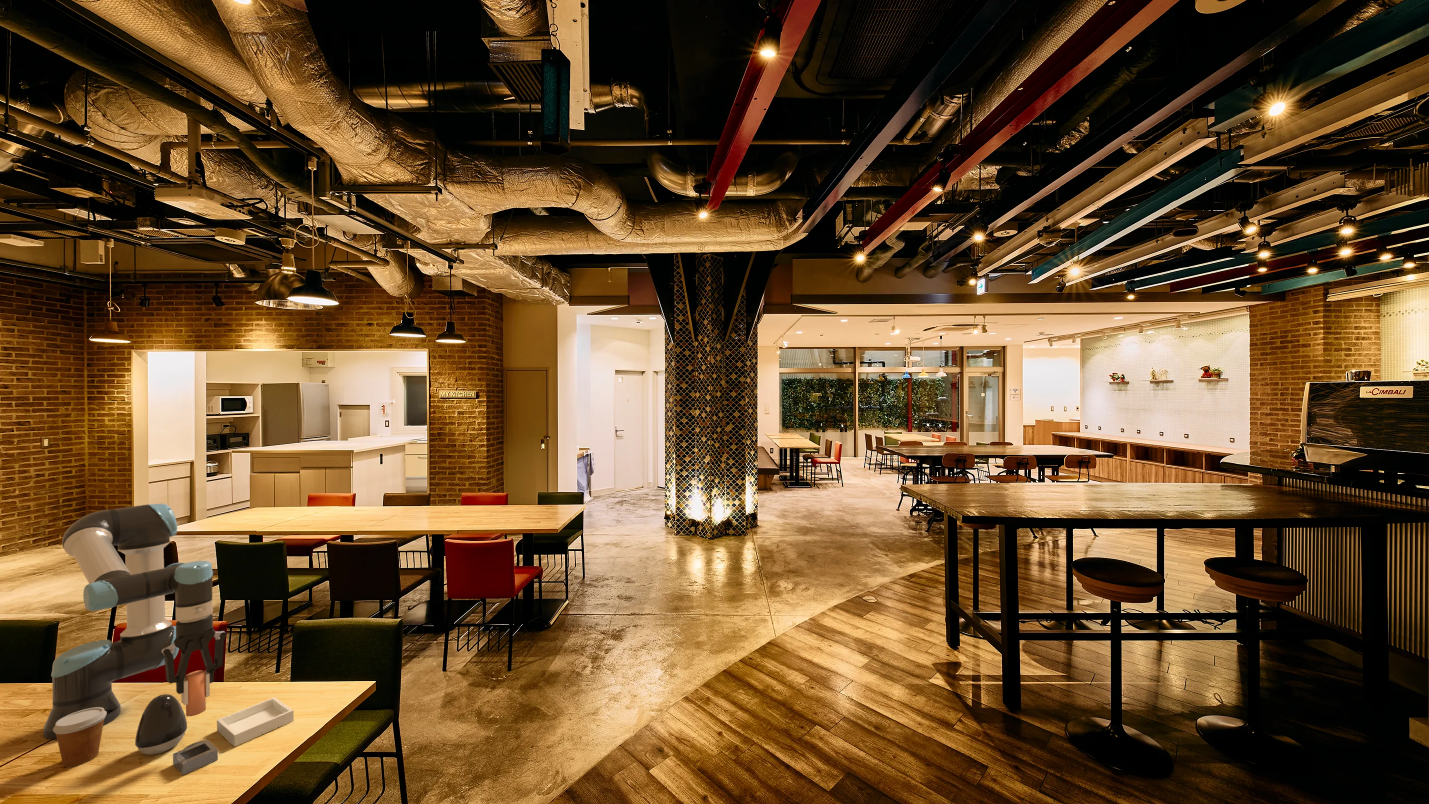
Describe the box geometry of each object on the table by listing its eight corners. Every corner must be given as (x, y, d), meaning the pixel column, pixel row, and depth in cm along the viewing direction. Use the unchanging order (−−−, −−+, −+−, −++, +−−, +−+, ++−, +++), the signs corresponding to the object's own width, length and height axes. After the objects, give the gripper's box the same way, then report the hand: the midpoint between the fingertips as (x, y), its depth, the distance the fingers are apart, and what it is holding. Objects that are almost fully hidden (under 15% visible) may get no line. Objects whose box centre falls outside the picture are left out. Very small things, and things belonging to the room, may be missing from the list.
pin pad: (178, 751, 148) (178, 749, 148) (206, 739, 153) (206, 737, 153) (185, 758, 145) (185, 757, 145) (213, 746, 150) (213, 744, 150)
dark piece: (140, 765, 142) (140, 710, 142) (131, 752, 148) (130, 698, 148) (192, 744, 151) (191, 692, 151) (181, 732, 157) (180, 682, 156)
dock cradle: (217, 730, 157) (216, 719, 157) (274, 707, 169) (274, 696, 169) (234, 746, 150) (234, 735, 150) (293, 720, 162) (293, 710, 162)
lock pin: (183, 713, 148) (183, 675, 148) (202, 706, 152) (202, 668, 152) (188, 717, 146) (188, 678, 146) (208, 710, 150) (207, 672, 150)
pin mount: (173, 764, 143) (172, 753, 143) (207, 749, 149) (207, 739, 149) (182, 775, 139) (182, 764, 139) (217, 759, 145) (217, 749, 145)
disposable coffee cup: (69, 773, 139) (68, 729, 139) (43, 768, 141) (43, 724, 141) (116, 750, 149) (116, 708, 149) (91, 745, 151) (91, 704, 151)
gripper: (156, 631, 140) (157, 718, 140) (237, 609, 154) (239, 688, 154) (148, 625, 144) (149, 710, 144) (228, 604, 158) (229, 681, 158)
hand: (195, 699), depth 149 cm, fingers closed on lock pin, 4 cm apart
